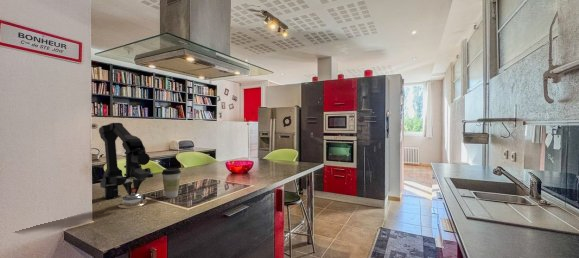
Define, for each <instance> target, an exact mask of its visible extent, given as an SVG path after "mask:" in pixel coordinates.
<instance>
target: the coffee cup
mask: <svg viewBox="0 0 579 258" xmlns="http://www.w3.org/2000/svg"><path fill="white" fill-rule="evenodd" d="M181 173H182V171H181V169H180V168H175V167H174V168H173V167H172V168H165V169H162V172H161V176H162V183H163V192H164V196H165V198H166V199H171V198H177V197H178V196H179V195H178V194H179V189H180V188H179V187H180V180H181Z"/></svg>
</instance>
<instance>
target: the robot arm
mask: <svg viewBox="0 0 579 258" xmlns="http://www.w3.org/2000/svg"><path fill="white" fill-rule="evenodd" d="M98 133H99V137H100V139H101V140H102V141H103V142H104V149H105V152H104V153H105V163H106V169H105V171H104V172H103V177H102V179H101V180H100V183H99V184H100V188H102V189H104V196H101V199H105V200H112V199H115V198H120V197H121V195H120V194H119V186H123V188H124V189H125V191H126V193H127V195H128V194H129V195H131V194H132V193H131V188H132V184H133V188H136V192H135V194H137V193H139V192H138V191H139V189H140V186H141V184H142V183H143V182H144V181H146V179H149V178H153V177H154V173H153V172H152V171H151V168H150V167H146V168H143V167H142V166H146V165H148V164H149V162H150V161H151V157H150V155H149V154H148V153H146V147H145V146H144V144H143V141H142V139H141V138H139V137H138V136H135V135H133V134H132V133H130V132H129V131H128V130H127V129H126V128H125V126H124V125H123V123H122V122H111V123H108V124H105V125H101V126H100V127H99V129H98ZM118 138H119V139H120V140H121V142H122V143H121V145H122V147H123V149H124V150H125V151H124V155H125V165H123V166H124V167H123V168H125V173H124V174H123V170H122V169H120V168H119V166H118V157H117V146H116V143H117V139H118ZM123 175H124V176H123Z"/></svg>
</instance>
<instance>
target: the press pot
mask: <svg viewBox="0 0 579 258" xmlns="http://www.w3.org/2000/svg"><path fill="white" fill-rule="evenodd" d="M146 196H147V194H146V193H143V194H142V193H140V196H137V197H132V198H127V197H126V195H125V196H123V197H121V199H122V202H121V203H120V204H118V208H120V209H133V208H139V207H142V206H144V205H147V203H148V201H147V200H146Z"/></svg>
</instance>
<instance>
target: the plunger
mask: <svg viewBox="0 0 579 258" xmlns="http://www.w3.org/2000/svg"><path fill="white" fill-rule="evenodd" d="M135 192H136V188H134V187H131V195H129V194H128V193H127V194H126V195H125V196H126V197H127V198H132V197H137V196H140V194H141V193H139V192H137V194H135Z"/></svg>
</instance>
